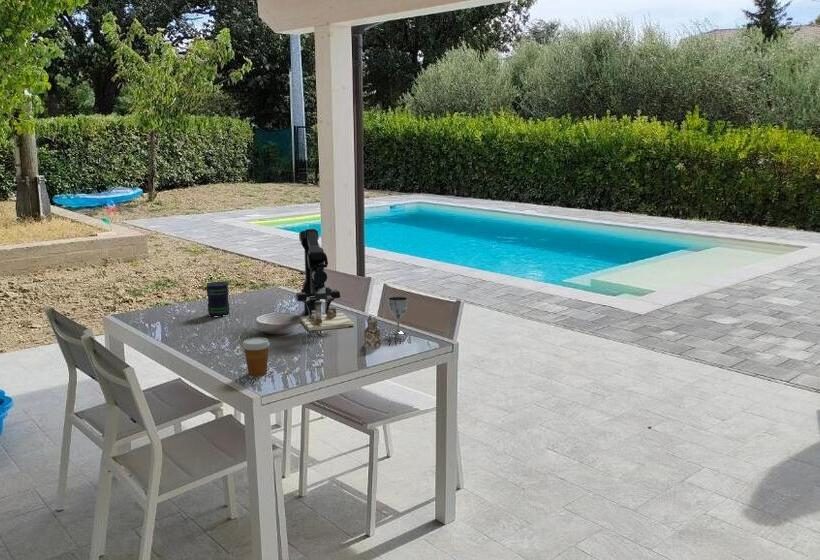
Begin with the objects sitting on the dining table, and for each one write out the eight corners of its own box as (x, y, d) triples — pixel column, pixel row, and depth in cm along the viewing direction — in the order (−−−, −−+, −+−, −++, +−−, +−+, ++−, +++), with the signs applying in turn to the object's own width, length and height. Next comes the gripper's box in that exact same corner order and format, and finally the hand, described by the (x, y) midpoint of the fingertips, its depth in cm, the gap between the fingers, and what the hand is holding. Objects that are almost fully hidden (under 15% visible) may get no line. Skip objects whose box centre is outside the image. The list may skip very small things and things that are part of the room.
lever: (308, 316, 343) (307, 295, 341) (315, 316, 344) (315, 294, 342) (315, 325, 328) (314, 303, 326) (323, 324, 329) (322, 302, 327)
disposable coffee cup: (238, 376, 267) (236, 343, 264) (253, 368, 275) (251, 336, 273) (262, 378, 263) (260, 345, 261) (276, 370, 272) (274, 338, 270)
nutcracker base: (300, 320, 344) (299, 308, 343) (342, 316, 351) (342, 304, 350) (309, 330, 326) (308, 318, 325) (354, 326, 332) (353, 314, 331)
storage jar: (211, 318, 349) (209, 286, 346) (205, 314, 358) (203, 283, 355) (232, 315, 354) (230, 284, 351) (226, 311, 362) (224, 280, 360)
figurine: (364, 348, 298) (363, 319, 296) (362, 344, 305) (361, 315, 303) (382, 347, 299) (381, 318, 297) (379, 342, 306) (379, 314, 304)
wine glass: (408, 330, 325) (408, 296, 322) (406, 335, 317) (406, 300, 314) (390, 330, 325) (389, 296, 323) (387, 335, 318) (387, 300, 315)
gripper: (299, 284, 316) (300, 320, 319) (342, 281, 321) (343, 316, 325) (294, 279, 326) (296, 314, 329) (336, 276, 332) (337, 311, 335)
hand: (318, 314), depth 329 cm, fingers open, 6 cm apart
